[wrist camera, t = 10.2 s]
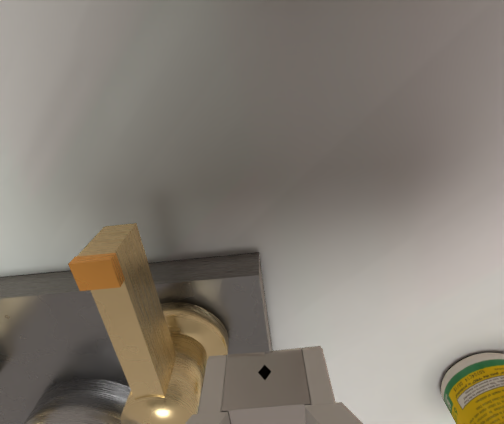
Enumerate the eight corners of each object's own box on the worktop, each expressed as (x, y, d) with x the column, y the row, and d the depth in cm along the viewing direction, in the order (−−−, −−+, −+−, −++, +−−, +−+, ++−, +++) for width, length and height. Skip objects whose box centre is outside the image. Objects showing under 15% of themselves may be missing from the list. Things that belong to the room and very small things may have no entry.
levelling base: (-120, 289, 19) (-256, 372, 14) (258, 252, 18) (258, 331, 13) (7, 462, 26) (-54, 559, 21) (285, 447, 25) (292, 548, 20)
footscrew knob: (235, 370, 18) (227, 465, 14) (147, 376, 19) (113, 471, 14) (198, 193, 14) (171, 254, 10) (84, 206, 14) (9, 269, 10)
